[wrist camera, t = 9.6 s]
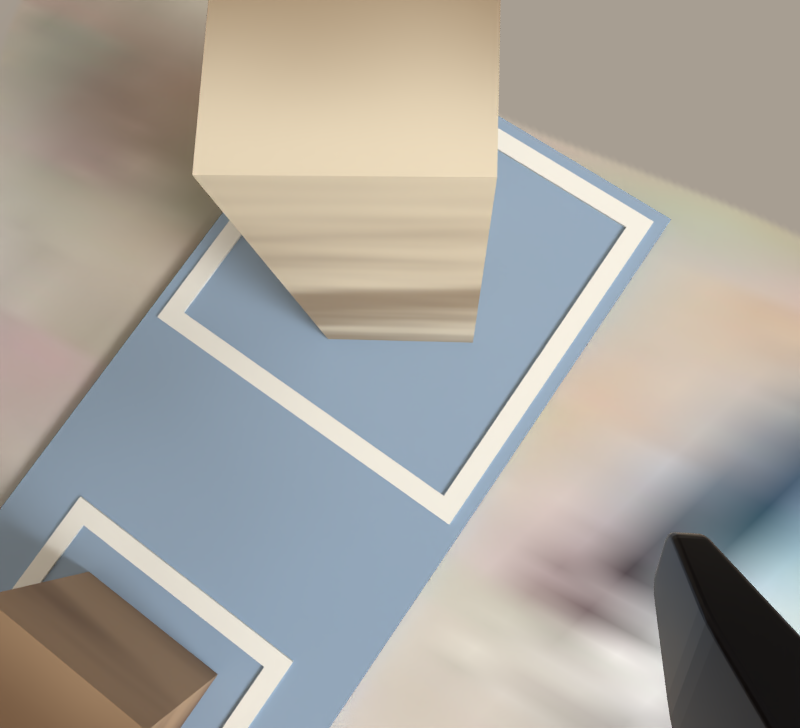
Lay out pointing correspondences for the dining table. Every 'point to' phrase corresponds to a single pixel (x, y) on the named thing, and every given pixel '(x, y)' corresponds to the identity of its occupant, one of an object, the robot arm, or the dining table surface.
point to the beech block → (357, 154)
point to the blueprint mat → (314, 446)
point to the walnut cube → (90, 661)
